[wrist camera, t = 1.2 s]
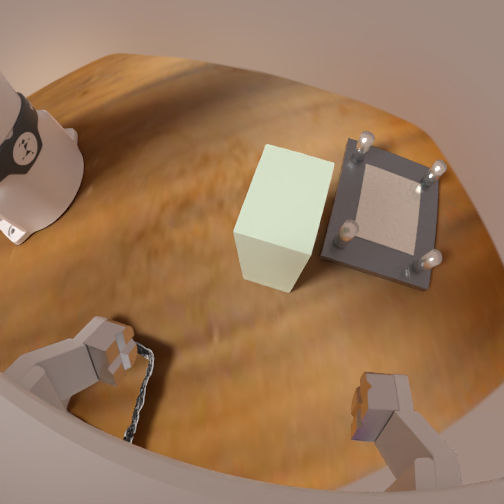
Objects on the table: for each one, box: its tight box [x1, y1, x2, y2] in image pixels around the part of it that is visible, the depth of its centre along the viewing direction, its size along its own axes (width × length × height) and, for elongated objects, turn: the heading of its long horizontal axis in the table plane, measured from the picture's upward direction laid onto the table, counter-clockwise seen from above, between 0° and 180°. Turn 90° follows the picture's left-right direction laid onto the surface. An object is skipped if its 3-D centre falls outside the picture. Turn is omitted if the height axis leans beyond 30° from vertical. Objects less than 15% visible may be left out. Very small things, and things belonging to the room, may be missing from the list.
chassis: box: [319, 131, 447, 291], centre depth 33 cm, size 13×16×5 cm
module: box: [233, 144, 335, 293], centre depth 27 cm, size 5×7×14 cm
